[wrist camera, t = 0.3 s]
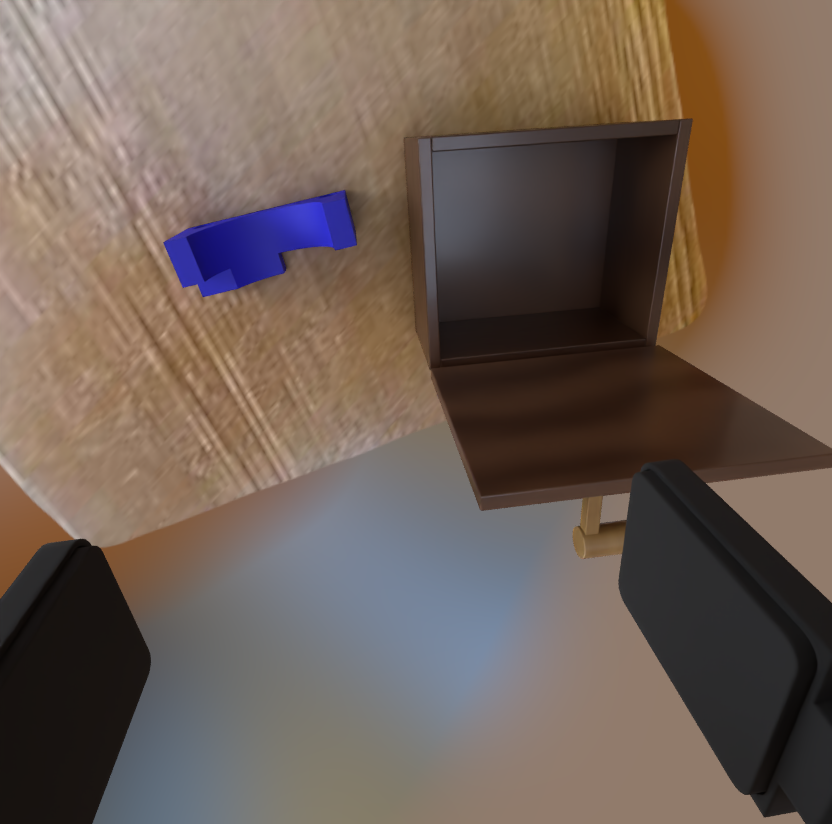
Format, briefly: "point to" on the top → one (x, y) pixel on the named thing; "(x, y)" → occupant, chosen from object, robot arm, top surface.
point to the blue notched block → (258, 242)
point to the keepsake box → (542, 238)
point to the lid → (606, 431)
